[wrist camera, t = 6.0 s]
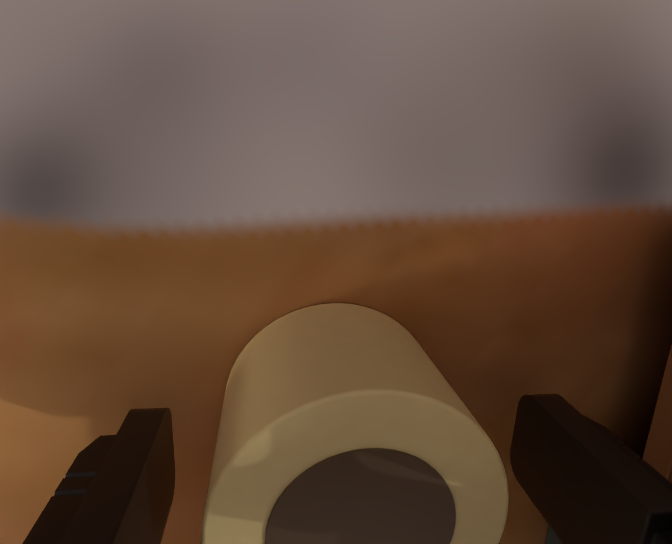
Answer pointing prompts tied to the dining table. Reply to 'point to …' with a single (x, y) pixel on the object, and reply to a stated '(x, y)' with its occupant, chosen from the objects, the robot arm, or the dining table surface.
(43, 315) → the dining table surface
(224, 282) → the dining table surface
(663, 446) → the drawer
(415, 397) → the tape
